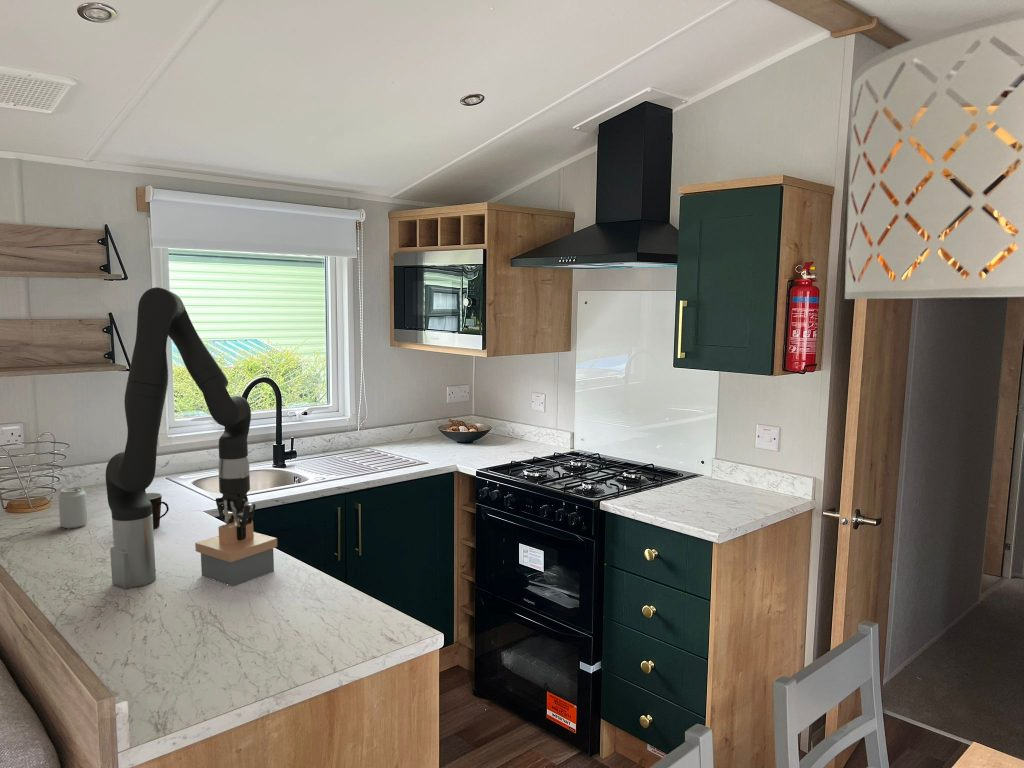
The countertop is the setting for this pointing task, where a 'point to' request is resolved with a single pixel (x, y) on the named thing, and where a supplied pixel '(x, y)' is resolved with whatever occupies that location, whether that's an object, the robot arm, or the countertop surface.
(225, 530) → the lid
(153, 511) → the coffee mug
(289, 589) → the countertop surface
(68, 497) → the can
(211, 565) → the storage box
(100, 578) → the countertop surface
